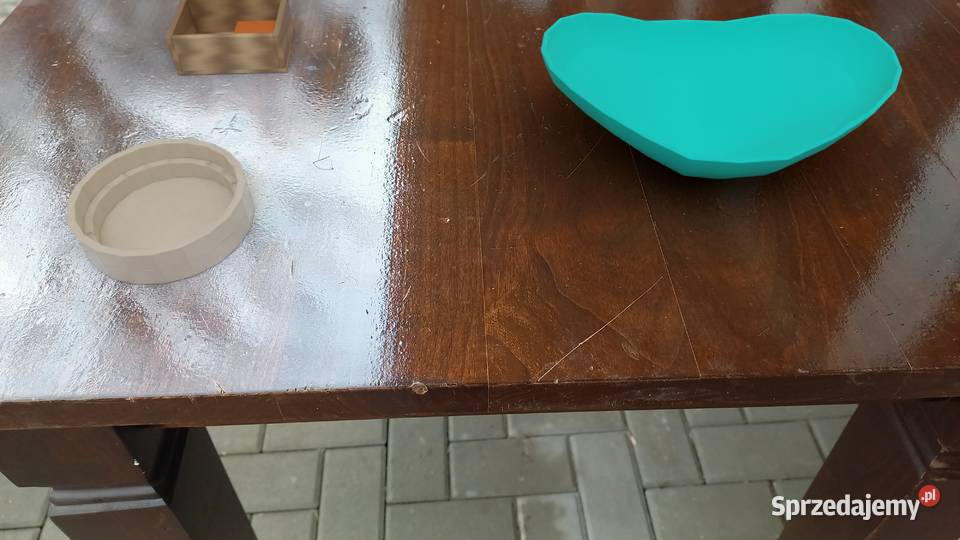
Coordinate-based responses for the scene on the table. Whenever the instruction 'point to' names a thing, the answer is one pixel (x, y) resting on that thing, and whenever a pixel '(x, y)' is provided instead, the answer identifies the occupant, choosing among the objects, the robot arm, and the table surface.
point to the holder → (229, 37)
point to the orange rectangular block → (255, 27)
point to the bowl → (161, 211)
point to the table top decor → (722, 85)
